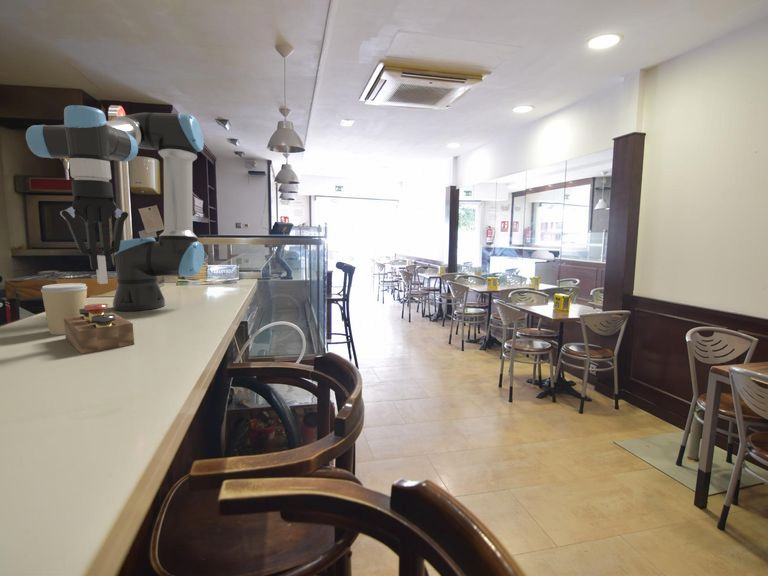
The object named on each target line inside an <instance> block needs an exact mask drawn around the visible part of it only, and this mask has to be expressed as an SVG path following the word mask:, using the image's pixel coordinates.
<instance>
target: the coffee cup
mask: <svg viewBox="0 0 768 576" xmlns="http://www.w3.org/2000/svg"><path fill="white" fill-rule="evenodd" d="M40 292H41V295H42V301H43V307H44V311H45V316H46V322H47V326H48V330H49V334H51V335H58V336H61V335H65V326H64V318H71V317H79V316H84V315H81V314H80V312H79V309H82V308H84V306H85V305H88V294H87V293H88V286H87V284H86V283H83V282H78V283H77V282H72V283H71V282H69V283H68V282H66V283H65V282H64V283H54V284H53V283H52V284H46V285H43V286H42V287H41V289H40Z"/></svg>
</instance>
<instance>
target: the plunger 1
mask: <svg viewBox="0 0 768 576" xmlns="http://www.w3.org/2000/svg"><path fill="white" fill-rule="evenodd" d="M79 312H80V314H81V315H84V319H89V311H85V308H82V309H79Z"/></svg>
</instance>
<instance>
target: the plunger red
mask: <svg viewBox="0 0 768 576" xmlns="http://www.w3.org/2000/svg"><path fill="white" fill-rule="evenodd" d="M84 308H85V311H89V321H90V323H93V322H92V321H91V317H92V316H96V315H104V314H105V313H106V312H105V311H106V310H108V303H91V304H87V305H85V306H84Z"/></svg>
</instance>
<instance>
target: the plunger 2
mask: <svg viewBox="0 0 768 576" xmlns="http://www.w3.org/2000/svg"><path fill="white" fill-rule="evenodd" d="M114 320H115V315H113V314H104V315H96V316H92V317H91V321H92V322H93V323H96V328H100V327H107V326H112V321H114Z"/></svg>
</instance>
